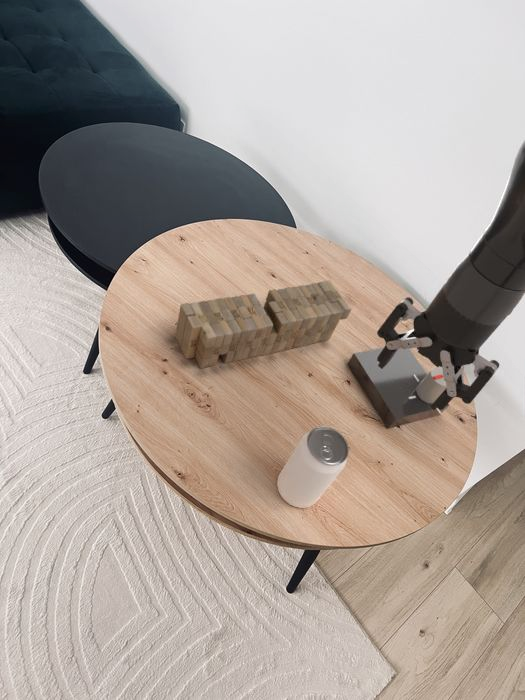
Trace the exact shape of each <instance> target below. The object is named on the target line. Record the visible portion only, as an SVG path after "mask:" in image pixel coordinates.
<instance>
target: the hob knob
mask: <svg viewBox="0 0 525 700" xmlns="http://www.w3.org/2000/svg"><path fill="white" fill-rule="evenodd" d="M445 389H446V381H444V377H443V368H442V367H440V366H439V367H437V366H433V367H432V368H431V369H430V370H429V372H428V373H427V375H426V377H425V378H424V379H423V380H422V382H421V383H420V384H419V385H418V386H417V389H416V392H417V395H418V396H419V397H420V399H422V400H423V401H424V402H427V403H431V404H432V403H434V401H435V400H436V399H437V398H438V397H439V396H440V394H441V393H442V392H443V391H444V390H445Z"/></svg>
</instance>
